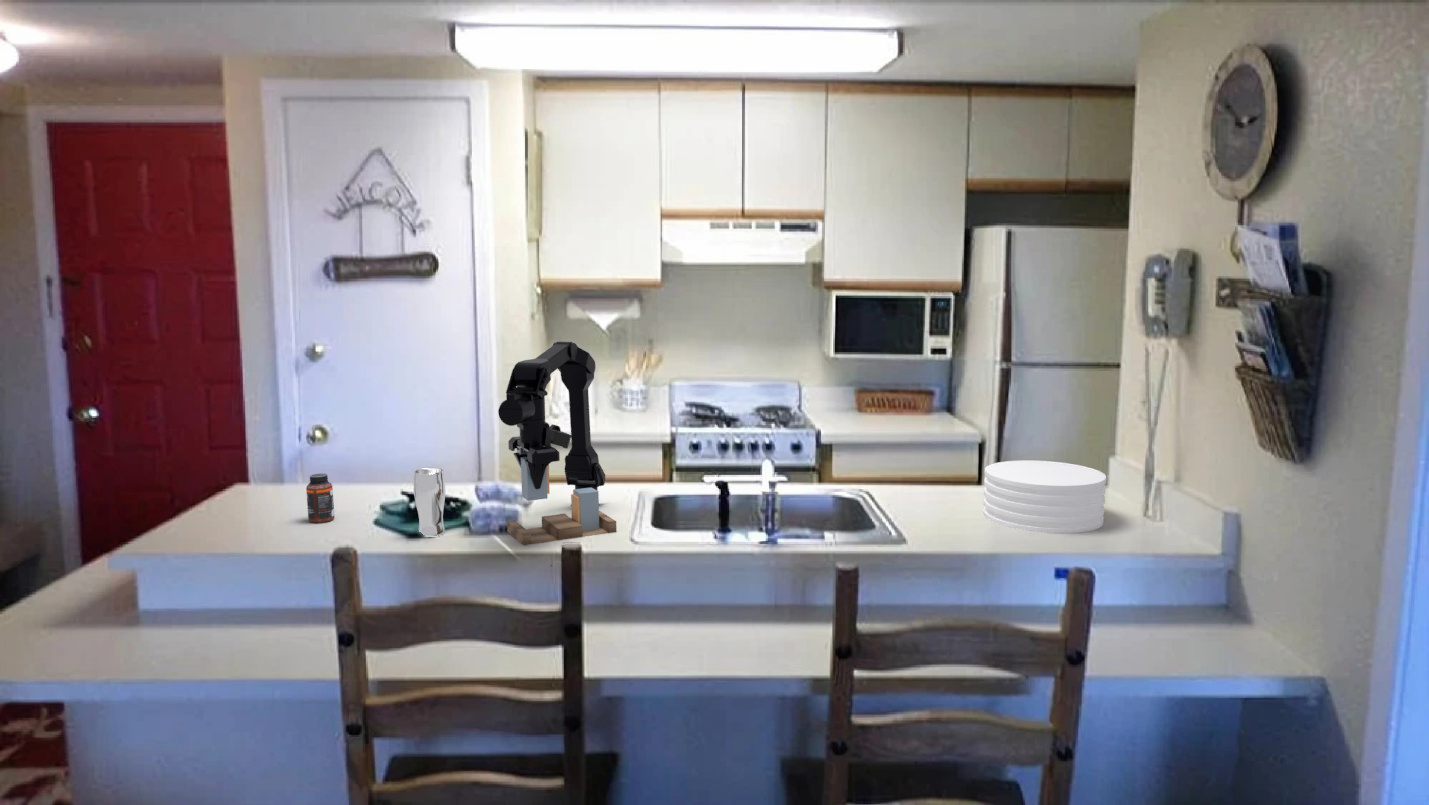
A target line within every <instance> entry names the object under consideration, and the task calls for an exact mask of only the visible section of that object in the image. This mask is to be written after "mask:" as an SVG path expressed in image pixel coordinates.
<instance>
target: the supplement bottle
mask: <svg viewBox="0 0 1429 805" xmlns="http://www.w3.org/2000/svg"><path fill="white" fill-rule="evenodd" d="M328 479H329V478H328V474H327V473H314V474H310V475H309V483H308V484H307V485H306V488H305V489H306V502H307V503H306V504H307V518H308V521H309V522H310V523H314V524H321V523H327V522H331V521H333V520H334V519H335V506H334V490H333V488H334V487H333V484H332V483H331V482H329V480H328Z"/></svg>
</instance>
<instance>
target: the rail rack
mask: <svg viewBox="0 0 1429 805" xmlns="http://www.w3.org/2000/svg"><path fill="white" fill-rule="evenodd" d="M506 523H507V524H506V526H507V533H508V534H509V535H510V536H511V537H513V538H514V539H515V540H516V541H517V542H519V543H520V544H521V545H522V546H529V545H535V544H542V543H543V544H544V543H549V542H555V541H556V542H557V541H563V540H569V539H576V538H584V537H591V536H597V535H599V536H600V535H605V534H611V533H617V520H615V519H613V518H612V517H610V516H609V515H607V514H605V513H604V512H602V511H601V510H599V529H598V530H591V531H584V532H583V526H582V525H580V524H579V523H578V522H576V521H575V520H573V519H572V517H570V516H569V515H567V514H566V513H559V514H552V515H544V516H541V527H532V528H525V527H524V526H523V525H522V524H520V523H519V522H518V521H517V520H507V521H506Z"/></svg>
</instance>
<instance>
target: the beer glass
mask: <svg viewBox="0 0 1429 805" xmlns="http://www.w3.org/2000/svg"><path fill="white" fill-rule="evenodd" d="M413 496H414V500H415V501H414V502H415V505H416V509H417V514H418V519H419V520H418V521H419V522H418V524H419V525H418V530H419V532H421V533H422V534H423V535H425V536H437V535H438V537H440V536H439V535H442V536H444V535H445V534H446V530H445V525H444V517H443V516H444V508H445V500H446V479H445V473H444V469H443V468H441V467H425V468H419V469H415V470H414V471H413ZM443 534H444V535H443Z"/></svg>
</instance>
